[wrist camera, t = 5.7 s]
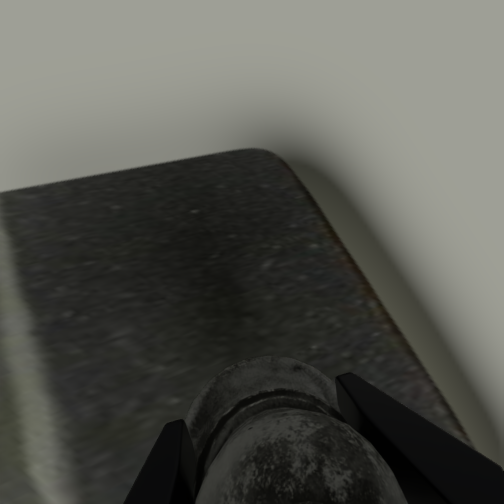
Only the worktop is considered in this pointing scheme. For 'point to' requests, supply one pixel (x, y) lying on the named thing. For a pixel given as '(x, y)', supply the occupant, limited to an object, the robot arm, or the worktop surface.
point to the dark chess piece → (281, 440)
